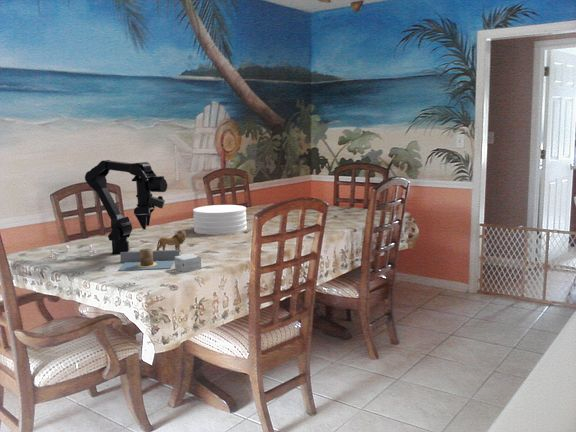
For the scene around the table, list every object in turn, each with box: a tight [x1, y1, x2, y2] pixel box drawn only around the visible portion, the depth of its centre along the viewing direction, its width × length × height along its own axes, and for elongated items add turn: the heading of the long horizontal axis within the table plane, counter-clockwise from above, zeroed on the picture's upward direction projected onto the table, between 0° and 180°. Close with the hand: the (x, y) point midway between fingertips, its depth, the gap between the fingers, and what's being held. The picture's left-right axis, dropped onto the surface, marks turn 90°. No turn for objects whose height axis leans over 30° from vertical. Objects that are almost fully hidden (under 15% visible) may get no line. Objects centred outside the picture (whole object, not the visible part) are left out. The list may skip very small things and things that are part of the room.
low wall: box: [119, 249, 180, 263], centre depth 232 cm, size 24×1×4 cm, turn 95°
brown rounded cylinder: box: [139, 248, 154, 266], centre depth 222 cm, size 5×5×6 cm
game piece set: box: [49, 244, 98, 261], centre depth 245 cm, size 19×20×4 cm
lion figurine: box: [155, 229, 187, 252], centre depth 248 cm, size 15×5×9 cm, turn 121°
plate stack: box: [192, 204, 248, 236], centre depth 297 cm, size 28×28×12 cm
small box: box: [174, 253, 202, 273], centre depth 217 cm, size 8×8×5 cm
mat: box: [117, 260, 175, 272], centre depth 223 cm, size 20×12×1 cm, turn 95°
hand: (146, 227), depth 241 cm, fingers open, 9 cm apart
